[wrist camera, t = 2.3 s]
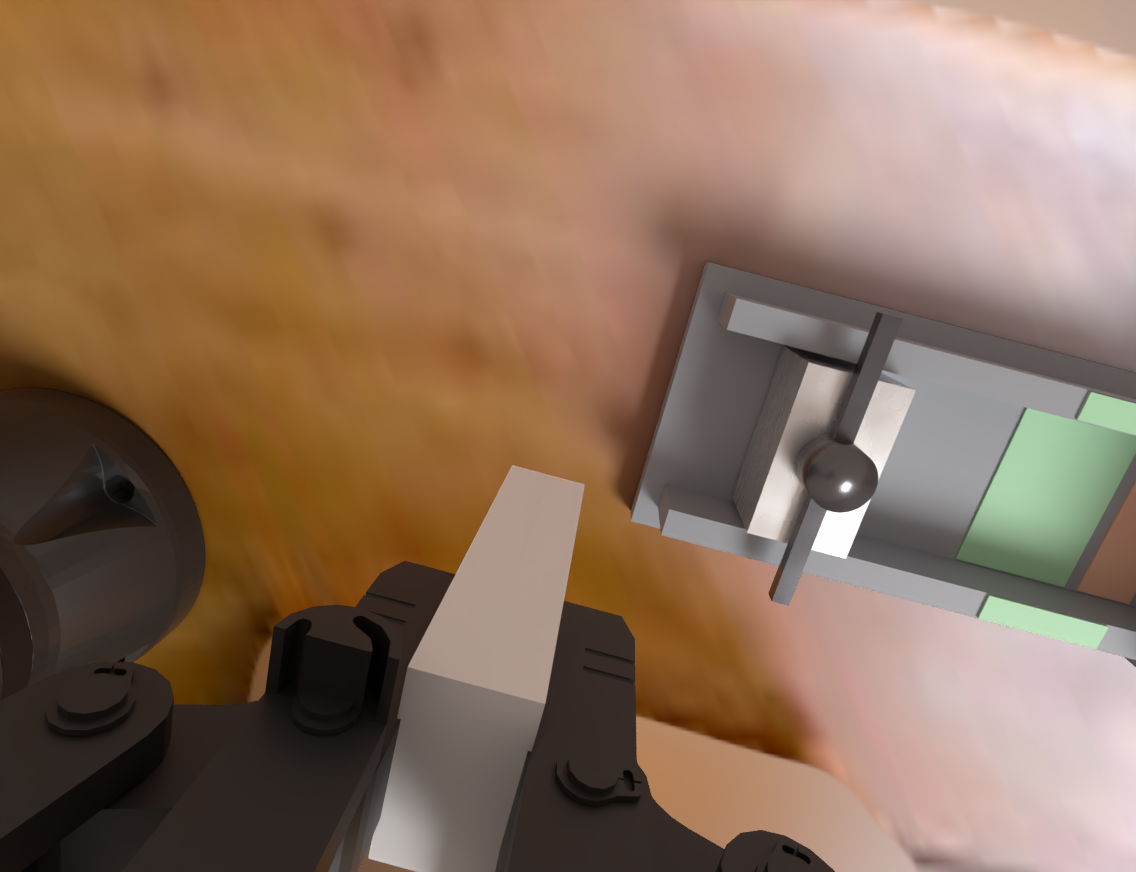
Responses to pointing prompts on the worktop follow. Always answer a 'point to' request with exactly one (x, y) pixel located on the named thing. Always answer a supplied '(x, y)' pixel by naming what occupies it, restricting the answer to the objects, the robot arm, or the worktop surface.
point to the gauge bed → (921, 461)
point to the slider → (820, 451)
